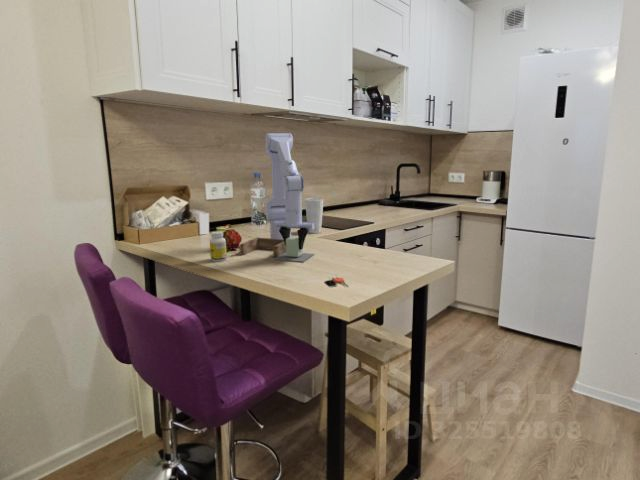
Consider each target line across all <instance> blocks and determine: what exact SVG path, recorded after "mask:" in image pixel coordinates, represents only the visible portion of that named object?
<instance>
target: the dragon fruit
mask: <svg viewBox="0 0 640 480" xmlns="http://www.w3.org/2000/svg"><path fill="white" fill-rule="evenodd" d="M222 232H223V238H225V240H226V251H231V250H232V249H234V250H236V249H237V250H238V249H239V246H240V244H241V243H242V240H243V238H242V236H241V235H240V233H239V232H238V231H237V230H235V229H234V228H232V229H226V230H225V231H222Z"/></svg>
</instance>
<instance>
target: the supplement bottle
mask: <svg viewBox="0 0 640 480" xmlns="http://www.w3.org/2000/svg"><path fill="white" fill-rule="evenodd" d="M223 232H224V231H217V230H216V231H212V232H211V233H210V235H211V236H210V237H211V238H210V239H209V248H210V249H209V250H210V260H211V261H212V262H215V263H216V262H217V263H218V262H224V261H227V259H228V256H227V254H228V253H227V250H226V240H225V238H223Z"/></svg>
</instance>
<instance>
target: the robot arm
mask: <svg viewBox="0 0 640 480" xmlns="http://www.w3.org/2000/svg"><path fill="white" fill-rule="evenodd" d="M264 138H265V139H264V145H265V154H266V156H269V157H270V161H271V183H272V184H271V185H272V187H271V188H272V189H271V190H272V197H271V198H270V199H268V200H267V202H266V203H265V219H266V221H268V222H269V228H270V229H269V233H270V237H269V238H271V239H283V240H284V243H285V246H286V239H287V238H289V237H292V229H297V231H296V233H297V237H298V238H299V249H300V250H301V249H303V250H304V245H305V240H306V237H307V235H308V233H309V232H308V231H309V229H310V230H313V229H314V223H307V221H306V222H305V221H303V214H302V213H303V207H302V205H303V202H302V200H303V199H302V198H303V197H302V196H303V195H302V192H303V191H304V186H305V185H304V183H305V182H304V177H303V175H302V174H301V173H299V171H298V168H297V164H296V161H295V160H293V159H292V157H291V156H292V155H291V151H292V148H293V147H294V137H293V135H292V133H290V132H288V133H287V132H284V133H283V132H282V133H281V132H280V133H279V132H278V133H274V132H272V133H270V132H267V133H266V134H265V137H264Z"/></svg>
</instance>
